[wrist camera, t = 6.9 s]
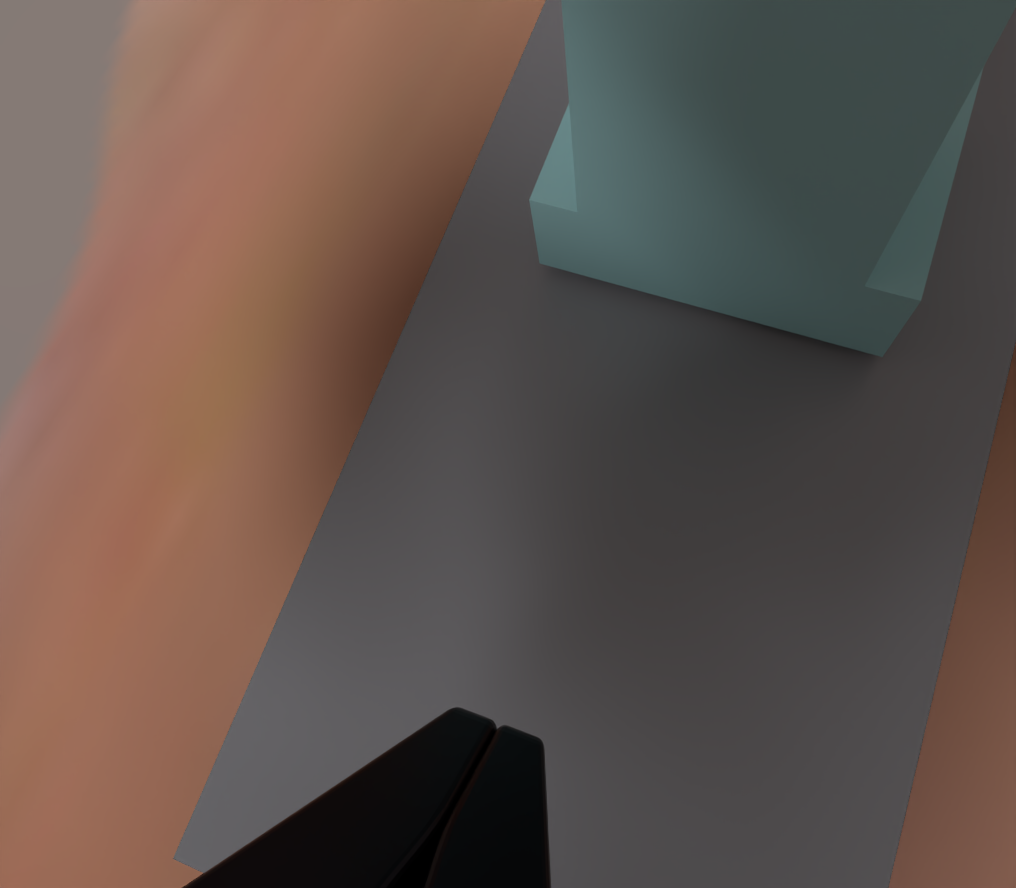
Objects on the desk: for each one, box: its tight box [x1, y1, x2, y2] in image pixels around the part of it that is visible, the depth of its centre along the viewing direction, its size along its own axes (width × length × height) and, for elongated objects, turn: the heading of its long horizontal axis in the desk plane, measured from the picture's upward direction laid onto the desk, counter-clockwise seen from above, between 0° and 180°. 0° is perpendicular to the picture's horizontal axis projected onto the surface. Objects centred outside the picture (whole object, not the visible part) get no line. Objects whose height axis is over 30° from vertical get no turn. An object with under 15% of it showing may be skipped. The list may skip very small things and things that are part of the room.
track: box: [173, 0, 1016, 888], centre depth 12 cm, size 23×10×10 cm, turn 159°
